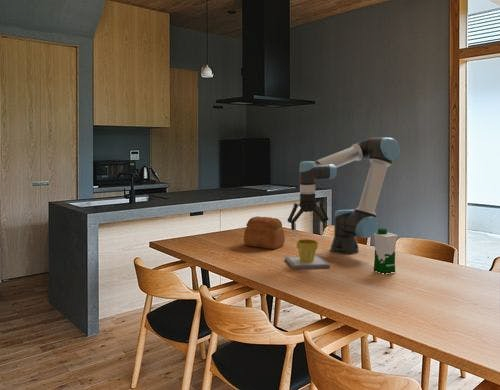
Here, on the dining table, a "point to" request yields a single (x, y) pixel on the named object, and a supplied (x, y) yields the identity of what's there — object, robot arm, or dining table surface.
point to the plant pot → (307, 249)
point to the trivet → (307, 263)
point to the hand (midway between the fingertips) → (308, 235)
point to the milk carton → (384, 251)
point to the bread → (264, 233)
